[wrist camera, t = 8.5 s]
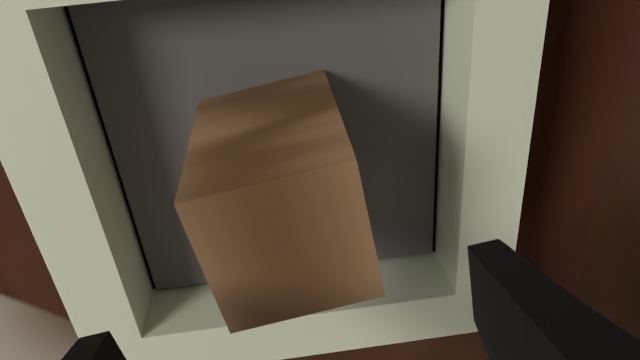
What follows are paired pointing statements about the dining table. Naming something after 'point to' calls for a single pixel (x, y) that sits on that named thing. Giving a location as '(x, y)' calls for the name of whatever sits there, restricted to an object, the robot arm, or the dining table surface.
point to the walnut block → (277, 204)
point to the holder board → (242, 73)
